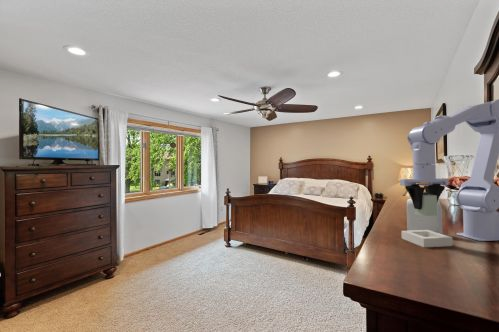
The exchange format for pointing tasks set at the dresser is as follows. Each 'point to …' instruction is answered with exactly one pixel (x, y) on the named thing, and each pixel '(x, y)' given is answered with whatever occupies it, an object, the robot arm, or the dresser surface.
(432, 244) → the white square frame
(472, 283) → the dresser surface
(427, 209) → the pale green block
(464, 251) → the dresser surface
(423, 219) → the photo printer
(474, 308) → the dresser surface
